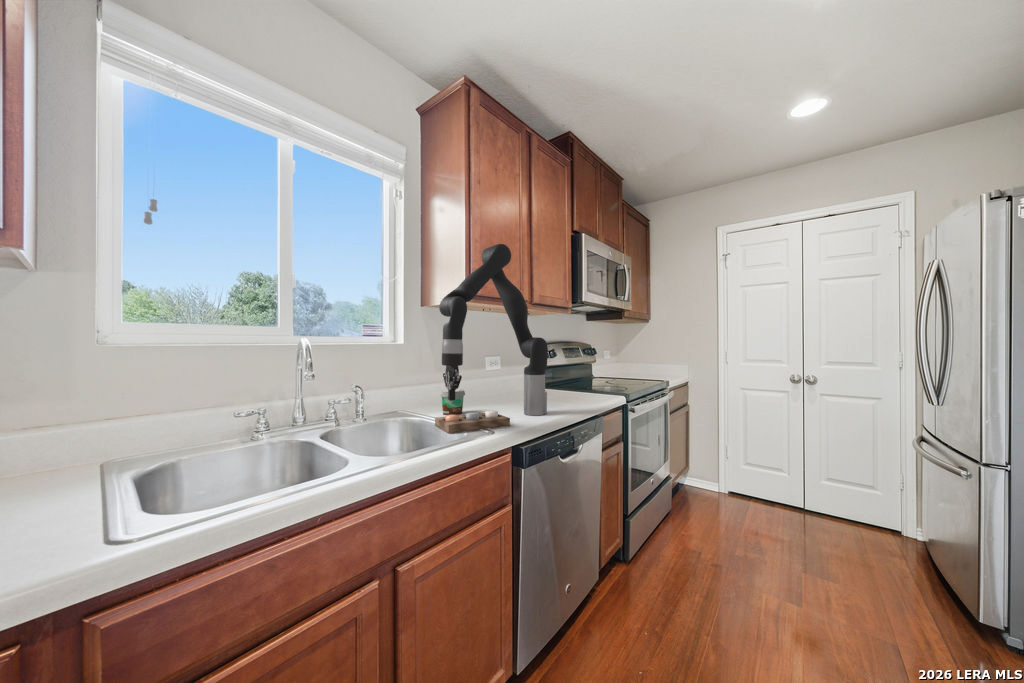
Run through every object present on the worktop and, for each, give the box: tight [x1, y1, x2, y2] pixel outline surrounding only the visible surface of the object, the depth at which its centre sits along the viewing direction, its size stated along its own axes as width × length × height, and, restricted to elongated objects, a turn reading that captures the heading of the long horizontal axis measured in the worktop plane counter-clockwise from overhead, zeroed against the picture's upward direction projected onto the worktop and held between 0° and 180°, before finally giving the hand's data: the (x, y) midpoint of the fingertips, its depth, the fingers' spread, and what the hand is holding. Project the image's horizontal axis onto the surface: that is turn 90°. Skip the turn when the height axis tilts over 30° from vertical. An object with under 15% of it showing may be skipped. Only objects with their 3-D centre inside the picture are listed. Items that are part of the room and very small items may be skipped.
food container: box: [440, 388, 466, 416], centre depth 165 cm, size 12×6×10 cm, turn 143°
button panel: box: [434, 412, 511, 434], centre depth 142 cm, size 24×14×3 cm, turn 120°
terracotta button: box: [444, 414, 460, 422], centre depth 138 cm, size 5×5×3 cm
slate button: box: [465, 412, 480, 420], centre depth 142 cm, size 5×5×3 cm
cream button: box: [484, 410, 499, 418], centre depth 146 cm, size 5×5×3 cm
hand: (451, 400), depth 137 cm, fingers closed
